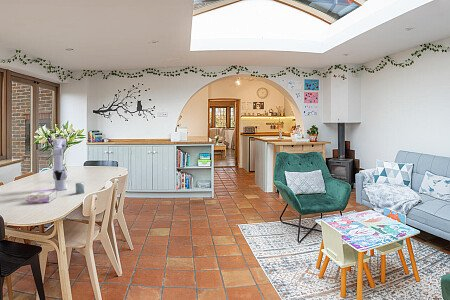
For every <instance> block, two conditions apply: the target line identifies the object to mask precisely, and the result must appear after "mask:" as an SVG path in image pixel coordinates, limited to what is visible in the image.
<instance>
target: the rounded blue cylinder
mask: <svg viewBox="0 0 450 300" xmlns="http://www.w3.org/2000/svg"><path fill="white" fill-rule="evenodd" d="M75 194H76V195H83V194H85V182H75Z"/></svg>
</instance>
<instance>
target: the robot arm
mask: <svg viewBox="0 0 450 300" xmlns="http://www.w3.org/2000/svg"><path fill="white" fill-rule="evenodd" d="M52 146H53V149H52V158H53V168H52V169H51V170H52V171H53V172H52V178H53V180H54V188H53V190H57V192H58V191H65V190H67V188H66V178H67V176H68V174H67V173H68V172H67V169H66V168H65V167H64V164H63V163H64V150H66V149H67V139H66V138H52Z"/></svg>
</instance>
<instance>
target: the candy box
mask: <svg viewBox="0 0 450 300" xmlns="http://www.w3.org/2000/svg"><path fill="white" fill-rule="evenodd" d="M57 193H58V191H57V190H55V189H47V190H43V189H42V190H35V191H33V192H31V193H29V194H28V195H27V196H26V197H27V204H42V203H43V204H44V203H45V204H46V203H50V202H52V201H53V200H55V199H56V198H57V197H58V196H57V195H58V194H57Z"/></svg>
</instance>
